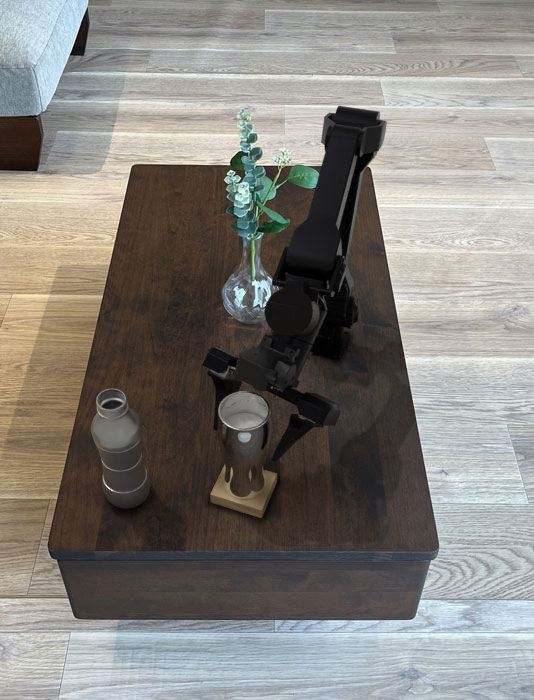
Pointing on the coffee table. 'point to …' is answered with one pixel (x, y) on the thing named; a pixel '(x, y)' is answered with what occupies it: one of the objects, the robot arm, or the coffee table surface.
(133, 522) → the coffee table surface
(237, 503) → the wooden block
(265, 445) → the metal cup
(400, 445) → the coffee table surface
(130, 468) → the plastic bottle
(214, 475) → the coffee table surface
